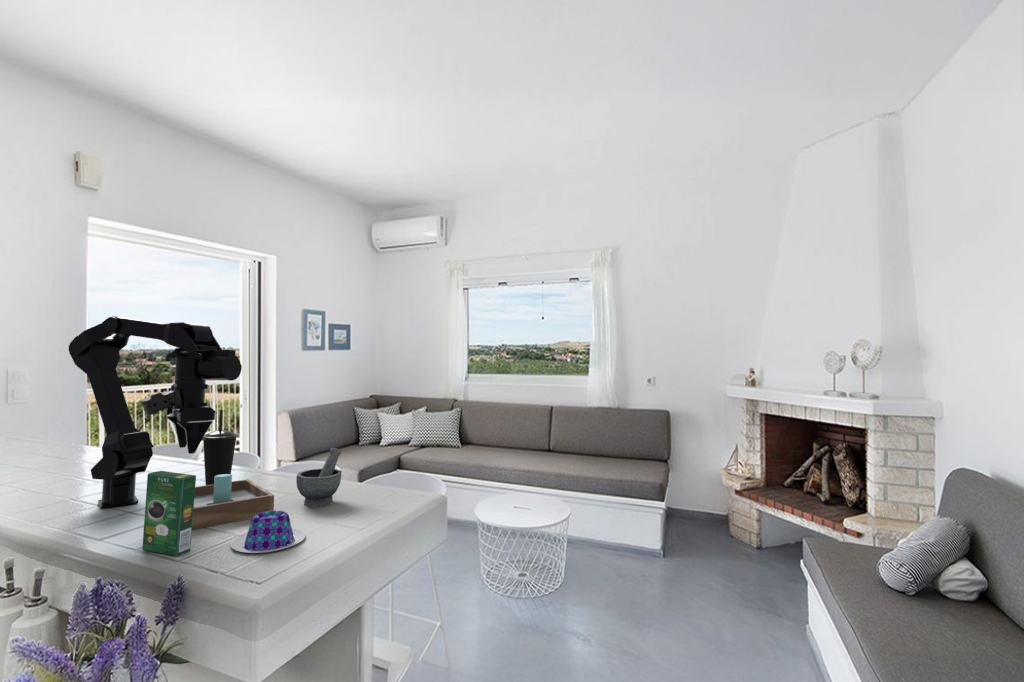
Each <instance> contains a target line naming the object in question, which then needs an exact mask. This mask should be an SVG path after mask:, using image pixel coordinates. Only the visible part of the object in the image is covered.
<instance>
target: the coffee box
mask: <svg viewBox="0 0 1024 682" xmlns="http://www.w3.org/2000/svg"><path fill="white" fill-rule="evenodd" d="M196 481H197V475H195V474H187V473H180V472H179V473H178V472H173V471H167V470H159V471H158V470H157V471H154V472H153V471H151V472H149V473H147V479H146V491H145V492H146V493H145V507H144V508H145V509H144V519H143V520H144V522H143V533H142V535H143V536H142V551H147V552H150V553H153V552H154V553H158V554H164V555H168V556H175V557H179V556H181V555H184V554H187V553H188V552H190V551H191V546H192V534H193V533H192V531H193V530H192V522H193V509H194V496H195V487H196Z"/></svg>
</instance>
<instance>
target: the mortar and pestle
mask: <svg viewBox="0 0 1024 682" xmlns="http://www.w3.org/2000/svg"><path fill="white" fill-rule="evenodd" d="M341 454H342V450H341V449H340V448H336V447H331V448H330V449H329V454H328V455H327V458H326V460H325V463H324V464H323V466H322V468H312V469H311V468H310V469H307V470H302V471H299V472H298V473H297V474H296V480H295V481H296V488H297V490H298V492H299V494H300V495H301V496H302V497H304V501H303V505H304V506H305V505H306V506H305V507H307V506H308V508H310V507H309V506H312V507H311V508H319V507H318V506H322V507H326V506H325V505H327V506H329V505H332V504H333V502H332V501H333V499H334V498H333V496H334V495H335V494H336V492H337V491H338V489H339V487H340V485H341V481H342V470H340V469H337V468H336V466H337V462H338V460H339V457H340V456H341ZM331 503H332V504H331ZM328 504H329V505H328Z"/></svg>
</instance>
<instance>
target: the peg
mask: <svg viewBox="0 0 1024 682" xmlns="http://www.w3.org/2000/svg"><path fill="white" fill-rule="evenodd" d="M232 480H233V475H232V473H231V474H222V475H217V476H215V477H214V496H213V504H218V503H224V502H230V501H231V486H232V482H233V481H232Z"/></svg>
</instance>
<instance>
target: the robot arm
mask: <svg viewBox="0 0 1024 682" xmlns="http://www.w3.org/2000/svg"><path fill="white" fill-rule="evenodd" d="M111 336H112V337H111ZM131 336H132V337H140V338H146V339H153V340H158V341H159V340H160V341H162V342H164V343H166V345H169V346H172V347H174V348H175V349H173V351H171V352H169V354H167V355H166V358H167V359H175V369H174V370H175V371H174V383H172V384H171V385H170V390H169V391H165V392H157V393H154V394H151V395H150V396H149V397H144V398H143V399H140V400H139V401H140V404H141V407H142V408H143V412H144V414H145V415H147V416H152V415H155V414H157V413H158V412H160V411H164V412H163V414H164V415H165V418H166V419H168V421H170V422H171V423H172V424H173V425H174V429H175V434H176V437H177V443H178V447H179V448H186V446H187V453H188V454H195V453H196V452H197V450H198V448H199V445H200V444H201V442H202V440H203V437H204V435H206V434H207V431H208V430H209V428H210V427H211V425H212V424H213V421H214V420H216V410H215V409H213V408H212V407H211V406H208V403H207V402H206V390H207V389H209V385H208V384H207V383H206V381H207V380H208V381H235V380H237V379H238V378H239V377H240V375H241V373H242V367H243V365H242V363H241V360H240V358H239V357H238V356H237V355H236V349H222V347H221V345H220V344H219V342H218V341H217V339H216V338H215V336H214V334H213V330H212V329H211V327H210V326H209V325H207V324H202V323H192V322H183V321H182V322H179V321H178V322H169V323H161V322H155V321H148V320H147V321H146V320H139V319H135V318H132V317H128V316H127V317H126V316H125V317H124V316H115V315H113V316H109V317H107V318H106V319H105V320H103V321H102V322H101V323H99V324H95V325H94V326H92V327H89V328H87V329H85V330H83V331H81V333H80V334H78V335H76V336H75V337H74V338H73V339H72V340H71V341H70V343H69V345H68V352H69V355H70V357H71V359H72V361H73V363H74V366H76V367H77V368H78V369H80V370H81V371H82V372H83V373H84V374H85V375H87V377H88V379H89V384H90V386H91V389H92V392H93V395H94V399H95V402H96V405H97V408H98V411H99V414H100V419H101V421H102V425H103V428H104V431H105V434H106V436H105V439H104V441H103V444H102V446H101V452H102V458H101V459H99V460H98V461H97V462H96V463H95V465H94V466H92V468H90V474H91V476H92V480H102V490H101V493H102V494H101V499H98V501H97V503H98V506H99V508H100V509H107V508H114V507H120V506H121V507H122V506H126V505H127V506H128V505H133V504H138V503H139V499H138V498H137V496H136V480H137V477H136V476H137V474H139V473H145V472H147V468H148V465H149V463H150V461H151V459H152V457H153V454H154V452H153V448H154V447H155V446H154V445H153V443H152V440H151V437H150V433H149V432H148V430H142V431H140V430H139V429H137V428H136V427H135V425H134V422H133V420H132V416H131V413H130V412H131V411H130V409H129V407H128V404H127V401H126V397H125V394H124V391H123V387H122V385H121V382H120V379H119V375H118V373H117V368H118V365H119V362H120V360H121V354H120V351H122V349H124V348H125V347H126V346H127V345H128V342H129V338H130V337H131ZM113 506H114V507H113Z"/></svg>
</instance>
